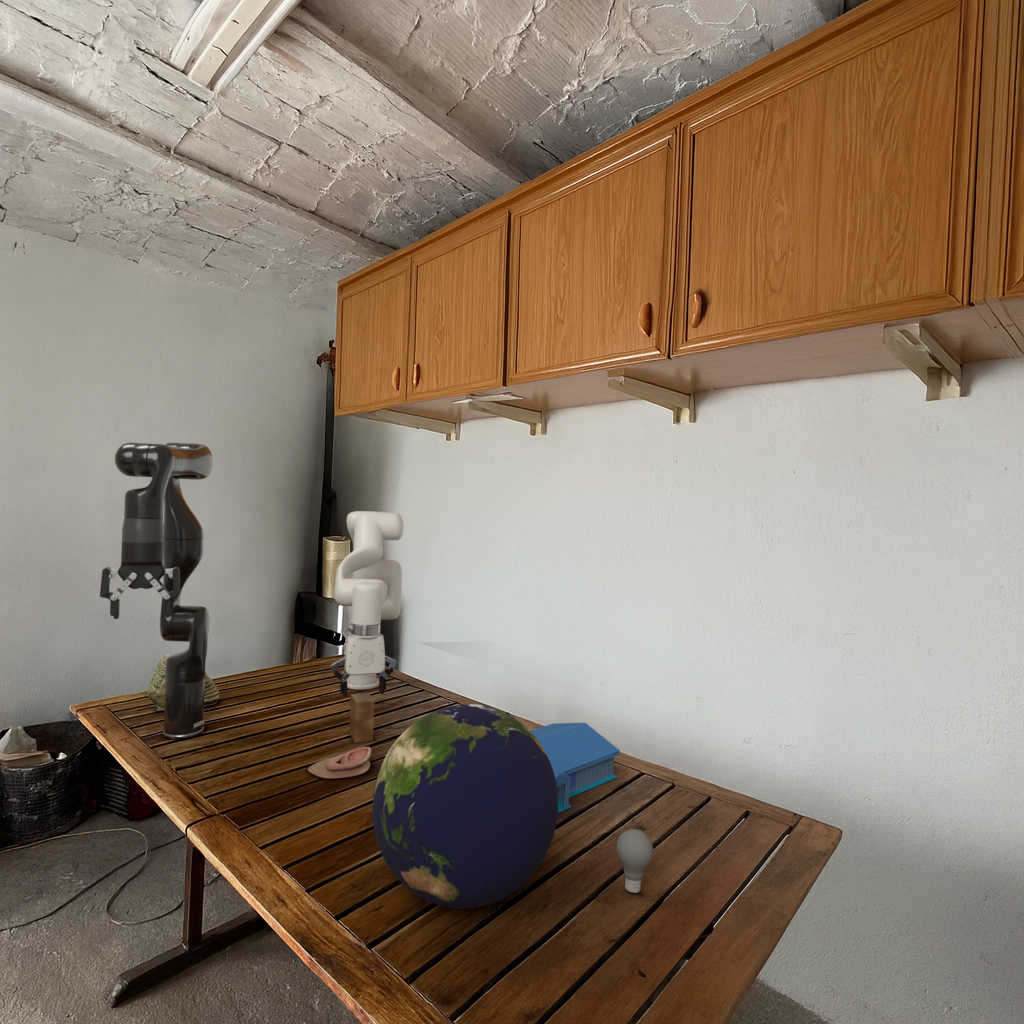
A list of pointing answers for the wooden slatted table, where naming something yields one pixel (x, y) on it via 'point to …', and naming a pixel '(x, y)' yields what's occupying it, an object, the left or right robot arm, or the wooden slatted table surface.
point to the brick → (361, 717)
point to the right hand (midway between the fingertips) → (363, 694)
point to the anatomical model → (343, 764)
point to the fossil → (158, 687)
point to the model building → (576, 758)
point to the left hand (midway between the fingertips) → (140, 617)
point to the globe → (465, 806)
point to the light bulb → (634, 857)
